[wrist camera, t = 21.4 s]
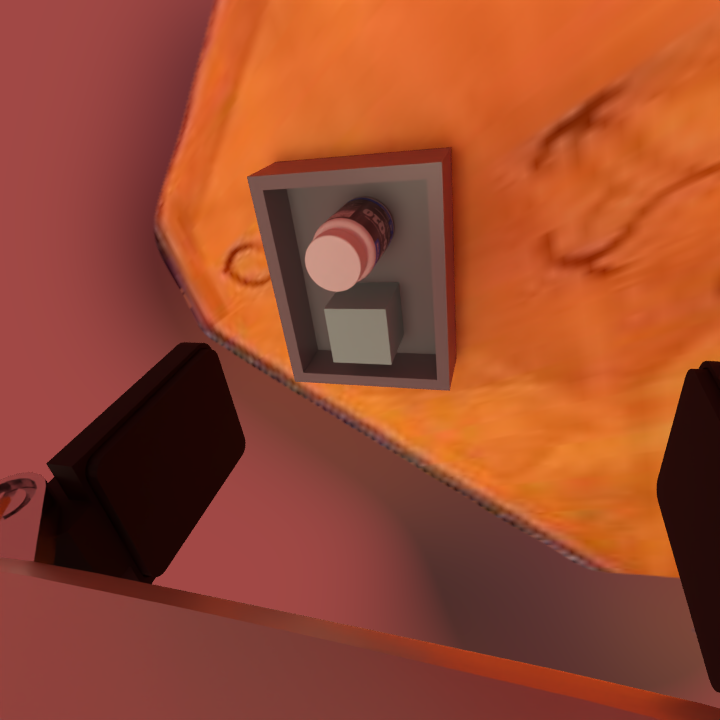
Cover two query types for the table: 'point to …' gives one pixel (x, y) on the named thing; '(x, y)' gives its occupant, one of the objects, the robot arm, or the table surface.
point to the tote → (397, 264)
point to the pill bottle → (349, 244)
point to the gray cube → (365, 323)
